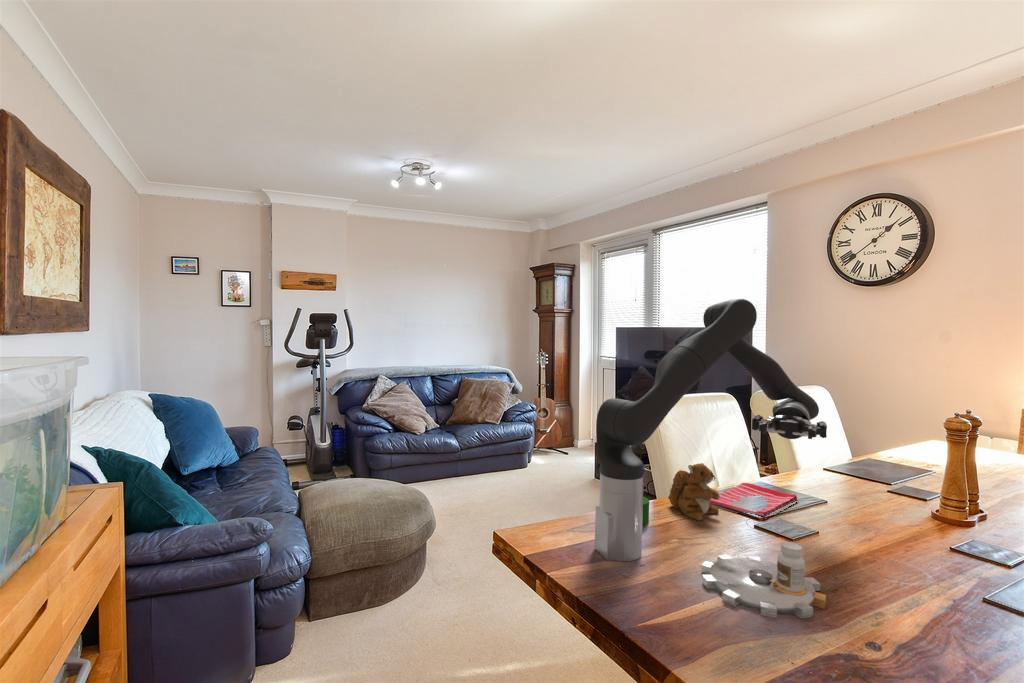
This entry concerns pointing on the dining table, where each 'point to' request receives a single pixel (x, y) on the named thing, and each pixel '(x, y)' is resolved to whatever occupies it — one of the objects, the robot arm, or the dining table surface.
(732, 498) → the dish towel
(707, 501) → the stuffed squirrel
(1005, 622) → the dining table surface
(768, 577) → the sprocket plate
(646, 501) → the candle
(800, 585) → the pill bottle
